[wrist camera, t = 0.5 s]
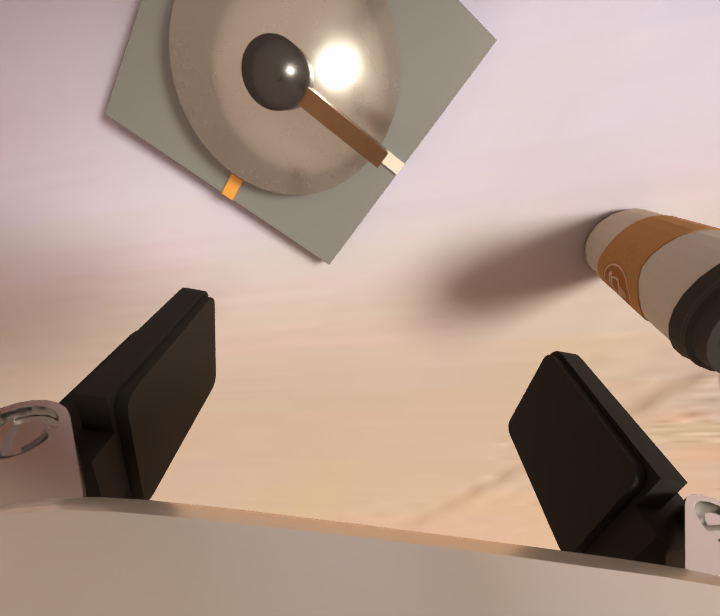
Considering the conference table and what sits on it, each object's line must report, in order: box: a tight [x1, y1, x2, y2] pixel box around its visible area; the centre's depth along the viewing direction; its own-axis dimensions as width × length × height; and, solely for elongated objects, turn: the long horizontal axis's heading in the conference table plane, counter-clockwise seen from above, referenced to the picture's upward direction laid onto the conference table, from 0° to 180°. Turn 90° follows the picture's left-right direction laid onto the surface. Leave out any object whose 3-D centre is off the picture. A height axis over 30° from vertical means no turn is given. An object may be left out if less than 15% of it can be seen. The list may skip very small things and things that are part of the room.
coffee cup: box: [585, 209, 720, 373], centre depth 27 cm, size 8×8×15 cm
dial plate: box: [105, 0, 497, 264], centre depth 27 cm, size 21×21×2 cm
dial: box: [169, 0, 400, 195], centre depth 24 cm, size 16×16×5 cm
